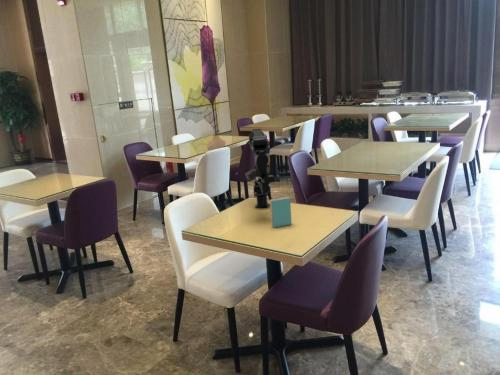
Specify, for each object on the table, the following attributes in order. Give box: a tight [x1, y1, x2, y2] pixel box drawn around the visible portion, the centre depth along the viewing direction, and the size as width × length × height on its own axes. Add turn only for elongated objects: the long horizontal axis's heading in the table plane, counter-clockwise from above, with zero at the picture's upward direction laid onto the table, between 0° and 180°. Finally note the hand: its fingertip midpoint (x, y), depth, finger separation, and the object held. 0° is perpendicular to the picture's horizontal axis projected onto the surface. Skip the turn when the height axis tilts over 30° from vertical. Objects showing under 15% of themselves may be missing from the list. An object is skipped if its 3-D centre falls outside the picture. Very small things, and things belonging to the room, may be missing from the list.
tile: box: [269, 196, 293, 229], centre depth 199 cm, size 2×9×13 cm, turn 105°
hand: (263, 194), depth 212 cm, fingers closed
